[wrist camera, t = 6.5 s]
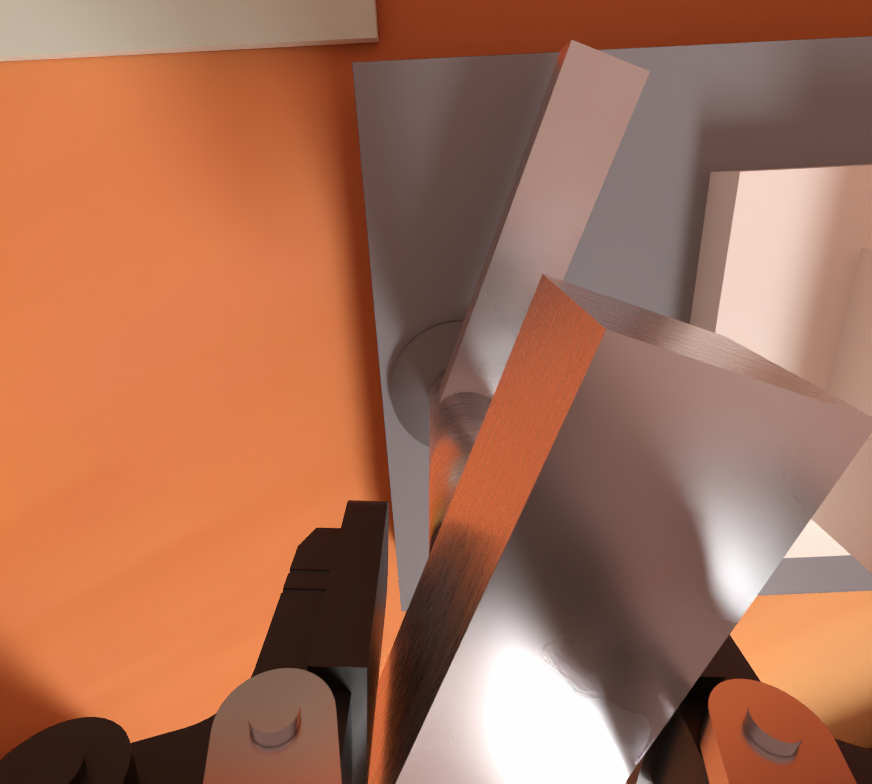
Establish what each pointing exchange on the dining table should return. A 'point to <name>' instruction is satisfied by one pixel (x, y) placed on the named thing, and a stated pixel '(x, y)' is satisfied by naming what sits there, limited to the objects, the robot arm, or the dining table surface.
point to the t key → (587, 492)
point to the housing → (608, 222)
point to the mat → (177, 26)
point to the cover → (800, 306)
